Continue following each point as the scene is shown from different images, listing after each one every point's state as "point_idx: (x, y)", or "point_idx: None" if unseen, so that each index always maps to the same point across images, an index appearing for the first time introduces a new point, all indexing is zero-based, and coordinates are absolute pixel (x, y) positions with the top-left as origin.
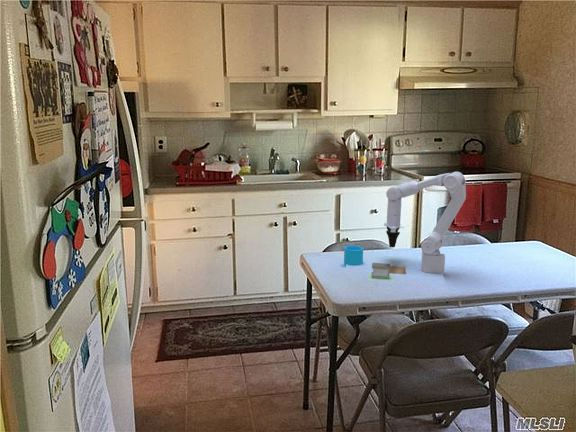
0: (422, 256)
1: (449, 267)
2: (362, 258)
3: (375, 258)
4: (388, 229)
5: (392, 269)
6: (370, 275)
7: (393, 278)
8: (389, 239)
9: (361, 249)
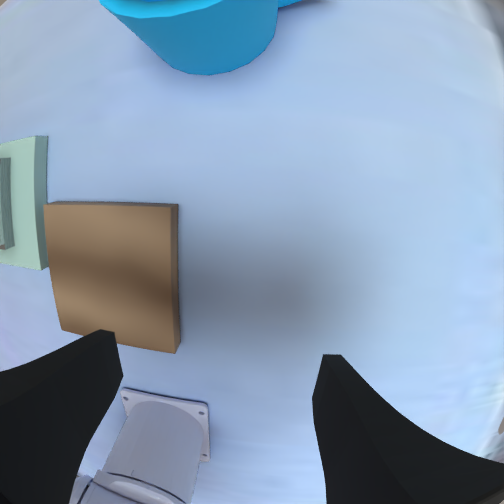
0: (124, 460)
1: (270, 478)
2: (174, 52)
3: (413, 179)
4: (389, 499)
5: (104, 274)
6: (5, 152)
7: (1, 262)
8: (25, 373)
9: (133, 9)
